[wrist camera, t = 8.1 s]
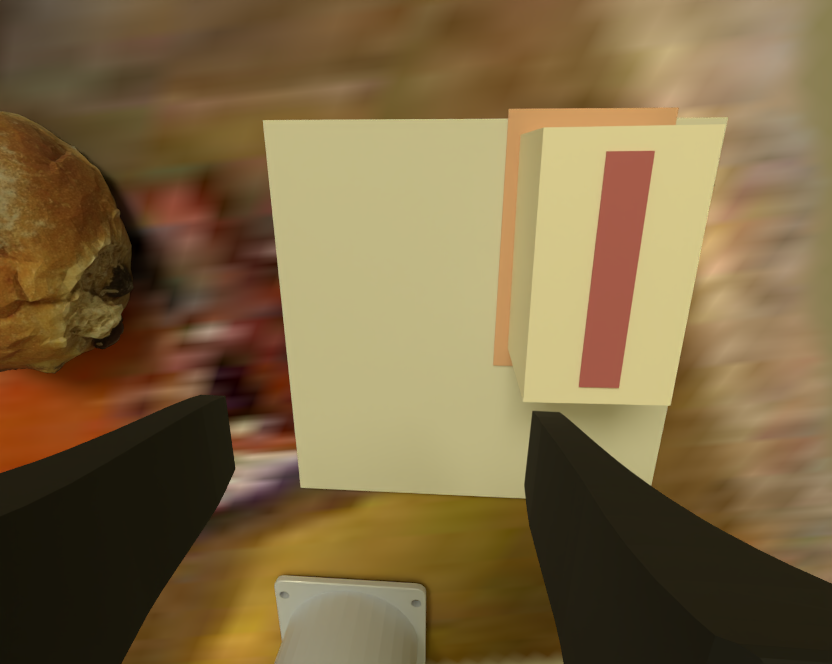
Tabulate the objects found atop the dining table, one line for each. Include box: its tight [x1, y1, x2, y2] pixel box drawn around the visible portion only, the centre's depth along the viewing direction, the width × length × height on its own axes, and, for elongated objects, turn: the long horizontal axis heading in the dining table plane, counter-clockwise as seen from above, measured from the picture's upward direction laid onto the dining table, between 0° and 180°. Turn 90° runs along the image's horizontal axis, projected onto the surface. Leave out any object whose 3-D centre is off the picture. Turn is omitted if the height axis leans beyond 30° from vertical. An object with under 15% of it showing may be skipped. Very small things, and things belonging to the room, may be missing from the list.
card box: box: [508, 124, 726, 406], centre depth 16 cm, size 4×8×5 cm, turn 1°
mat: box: [263, 108, 728, 498], centre depth 19 cm, size 16×16×1 cm
